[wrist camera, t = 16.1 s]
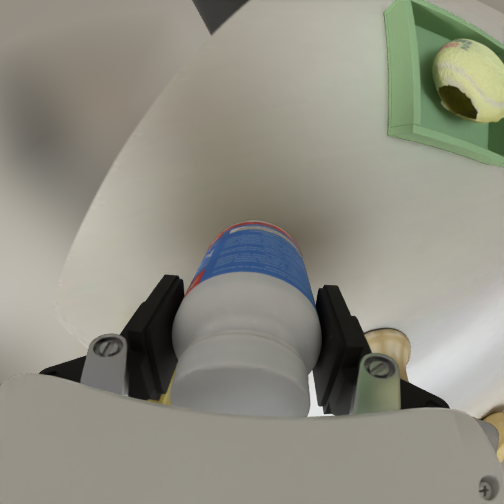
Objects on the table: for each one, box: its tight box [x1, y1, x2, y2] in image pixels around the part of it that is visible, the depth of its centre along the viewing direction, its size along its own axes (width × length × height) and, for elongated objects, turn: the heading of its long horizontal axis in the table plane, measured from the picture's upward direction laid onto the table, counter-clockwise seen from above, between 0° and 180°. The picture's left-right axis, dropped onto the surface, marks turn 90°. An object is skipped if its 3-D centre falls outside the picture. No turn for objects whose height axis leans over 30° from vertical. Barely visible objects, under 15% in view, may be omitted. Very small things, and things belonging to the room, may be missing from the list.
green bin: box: [384, 0, 504, 167], centre depth 13 cm, size 11×11×4 cm
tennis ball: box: [432, 39, 504, 123], centre depth 12 cm, size 6×7×7 cm
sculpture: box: [483, 412, 504, 463], centre depth 25 cm, size 12×12×11 cm
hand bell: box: [364, 329, 411, 382], centre depth 17 cm, size 8×8×16 cm
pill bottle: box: [170, 220, 322, 417], centre depth 11 cm, size 6×5×10 cm
